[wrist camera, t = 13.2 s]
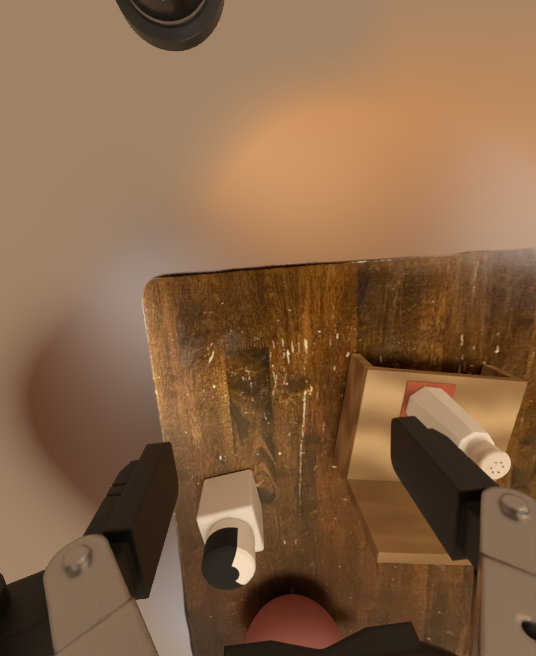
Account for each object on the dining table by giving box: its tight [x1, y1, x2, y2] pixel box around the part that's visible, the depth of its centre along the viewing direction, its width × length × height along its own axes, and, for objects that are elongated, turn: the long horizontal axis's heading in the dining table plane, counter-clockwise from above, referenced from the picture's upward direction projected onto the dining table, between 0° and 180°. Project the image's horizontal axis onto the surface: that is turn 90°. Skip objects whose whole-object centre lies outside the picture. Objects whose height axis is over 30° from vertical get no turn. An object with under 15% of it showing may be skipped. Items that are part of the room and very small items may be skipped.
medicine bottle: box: [197, 469, 264, 590], centre depth 40 cm, size 7×7×12 cm
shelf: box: [334, 353, 527, 565], centre depth 37 cm, size 16×20×16 cm
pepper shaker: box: [406, 386, 511, 479], centre depth 32 cm, size 5×5×11 cm
